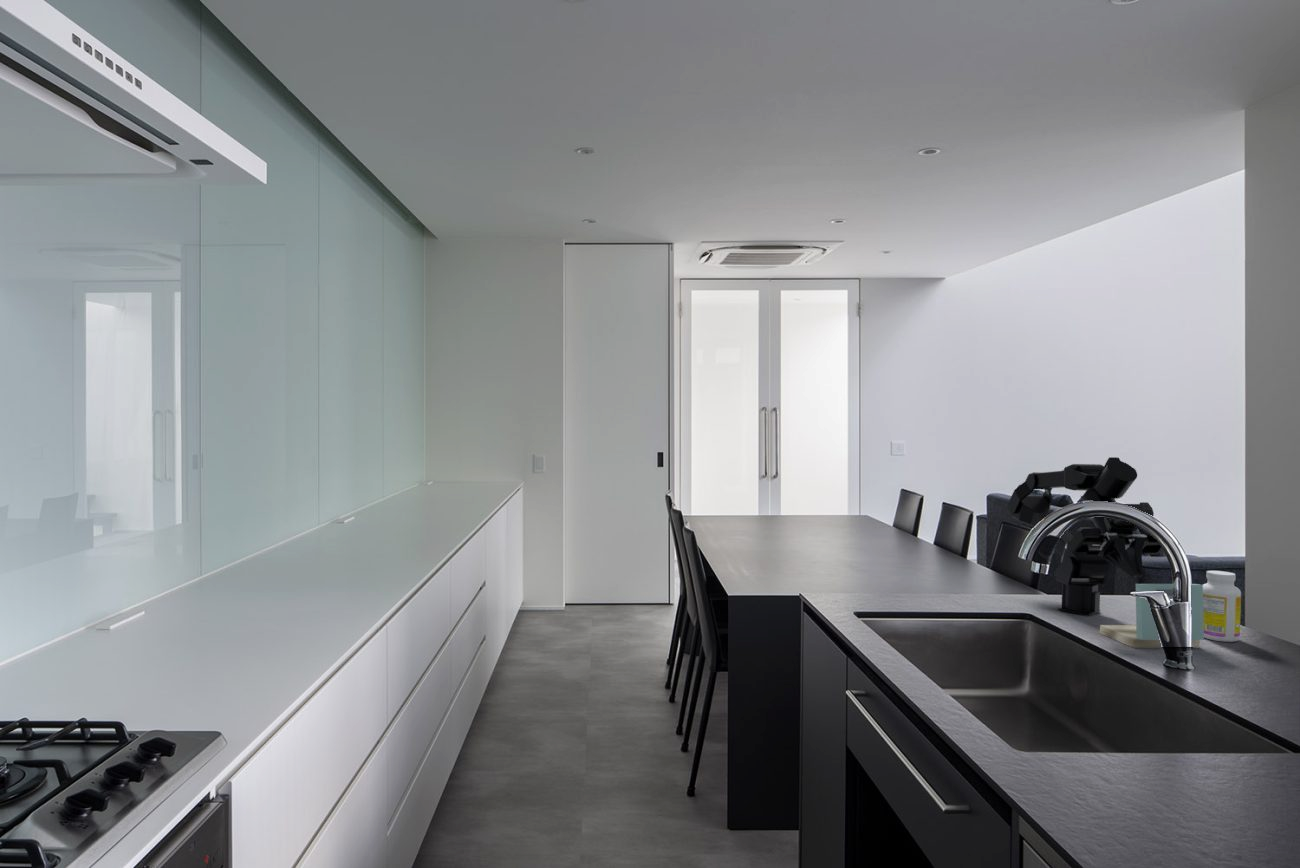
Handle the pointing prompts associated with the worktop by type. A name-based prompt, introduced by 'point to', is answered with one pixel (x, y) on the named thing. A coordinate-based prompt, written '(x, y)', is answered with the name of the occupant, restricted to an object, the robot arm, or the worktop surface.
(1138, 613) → the panel
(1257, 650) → the worktop surface
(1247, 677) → the worktop surface
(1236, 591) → the supplement bottle
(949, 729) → the worktop surface
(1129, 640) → the plate
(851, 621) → the worktop surface
